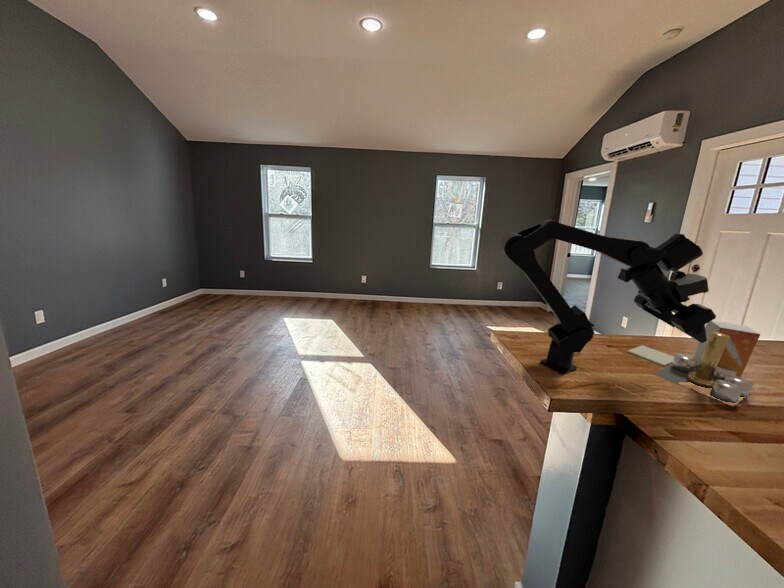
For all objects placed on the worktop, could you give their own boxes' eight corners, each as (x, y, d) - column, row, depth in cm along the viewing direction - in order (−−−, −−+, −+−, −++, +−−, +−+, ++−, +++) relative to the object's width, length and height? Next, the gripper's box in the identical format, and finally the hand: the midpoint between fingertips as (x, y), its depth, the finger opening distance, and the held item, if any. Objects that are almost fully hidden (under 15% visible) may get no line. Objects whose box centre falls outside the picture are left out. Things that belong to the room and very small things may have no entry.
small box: (701, 372, 85) (720, 327, 82) (690, 361, 91) (707, 319, 87) (741, 380, 83) (761, 333, 79) (727, 368, 88) (745, 325, 85)
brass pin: (710, 391, 76) (731, 340, 72) (683, 379, 80) (701, 332, 76) (718, 385, 78) (739, 337, 74) (691, 375, 82) (709, 328, 79)
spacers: (735, 407, 70) (741, 394, 69) (654, 373, 82) (658, 361, 81) (755, 391, 77) (761, 378, 76) (678, 362, 89) (682, 351, 88)
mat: (733, 409, 70) (733, 407, 70) (652, 375, 82) (653, 373, 82) (753, 392, 77) (754, 390, 77) (676, 363, 89) (677, 361, 89)
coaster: (663, 367, 86) (664, 364, 86) (627, 353, 94) (627, 350, 93) (677, 361, 91) (678, 358, 91) (641, 347, 98) (642, 345, 98)
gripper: (722, 271, 63) (763, 329, 65) (661, 255, 81) (694, 301, 83) (666, 304, 66) (706, 359, 68) (618, 282, 84) (651, 326, 86)
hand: (688, 333), depth 76 cm, fingers open, 9 cm apart
